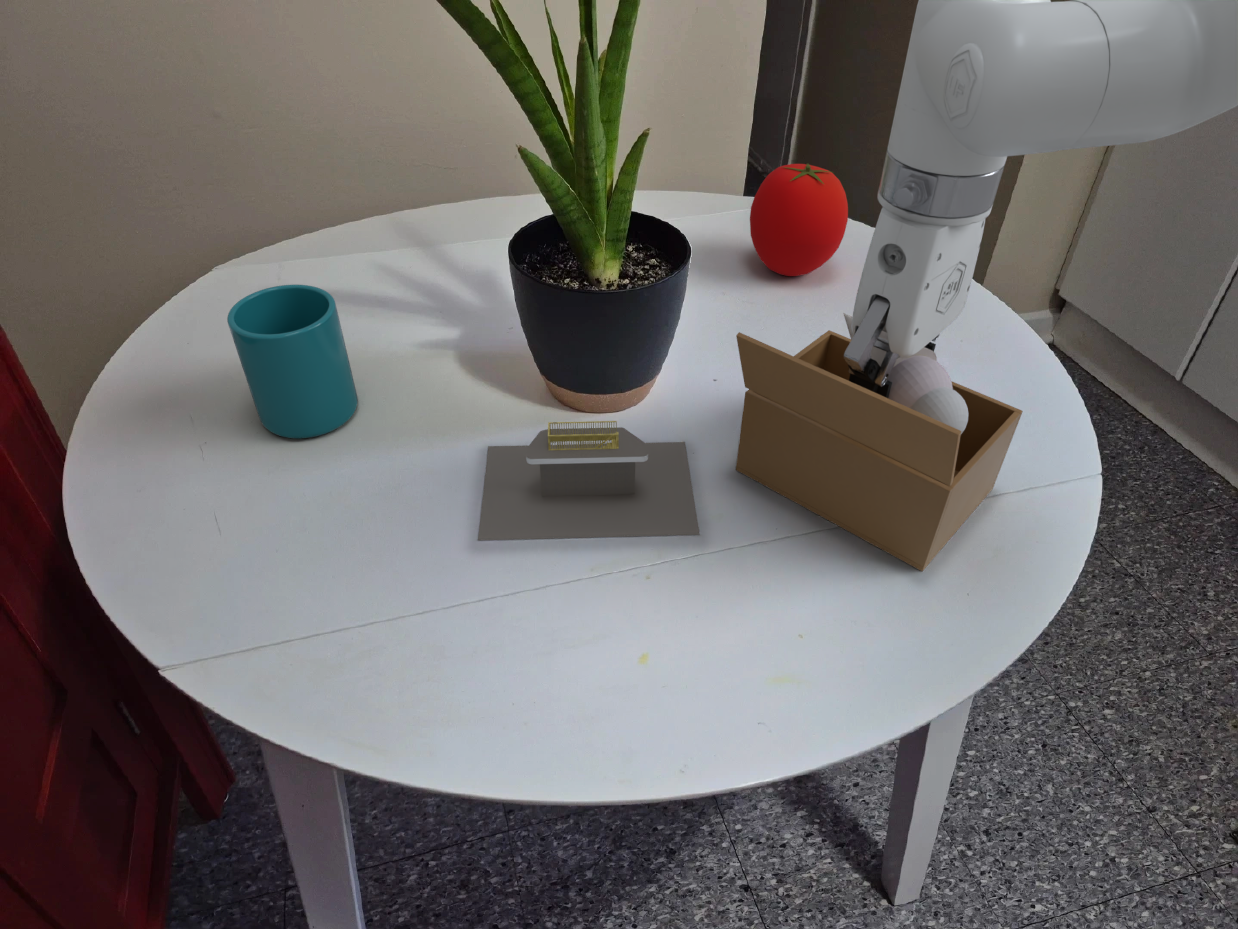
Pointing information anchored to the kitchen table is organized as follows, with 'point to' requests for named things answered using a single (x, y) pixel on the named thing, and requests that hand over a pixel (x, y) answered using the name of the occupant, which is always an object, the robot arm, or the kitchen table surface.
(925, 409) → the ice cream cone
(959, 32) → the robot arm
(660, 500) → the platform
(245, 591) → the kitchen table surface
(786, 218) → the tomato
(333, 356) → the cup
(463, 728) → the kitchen table surface
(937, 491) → the carton
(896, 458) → the flap
